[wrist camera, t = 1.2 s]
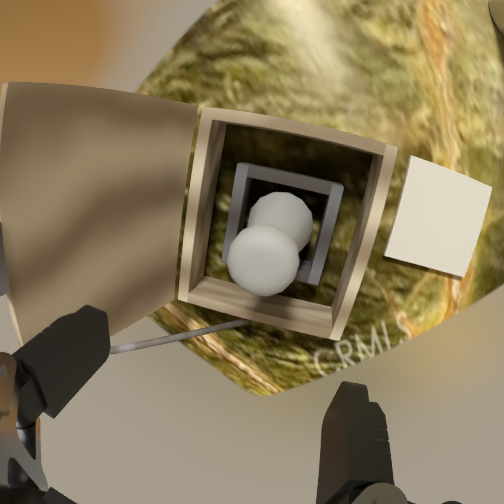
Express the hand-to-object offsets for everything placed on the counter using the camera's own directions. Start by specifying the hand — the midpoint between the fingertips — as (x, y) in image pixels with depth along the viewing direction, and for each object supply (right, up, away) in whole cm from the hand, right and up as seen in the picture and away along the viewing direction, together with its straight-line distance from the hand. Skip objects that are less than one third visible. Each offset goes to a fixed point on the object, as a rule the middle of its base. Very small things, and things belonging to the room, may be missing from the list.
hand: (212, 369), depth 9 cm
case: (+3, +7, +20) cm, 22 cm away
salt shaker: (+4, +7, +20) cm, 22 cm away
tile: (+20, +7, +17) cm, 27 cm away
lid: (-8, +5, +9) cm, 14 cm away
